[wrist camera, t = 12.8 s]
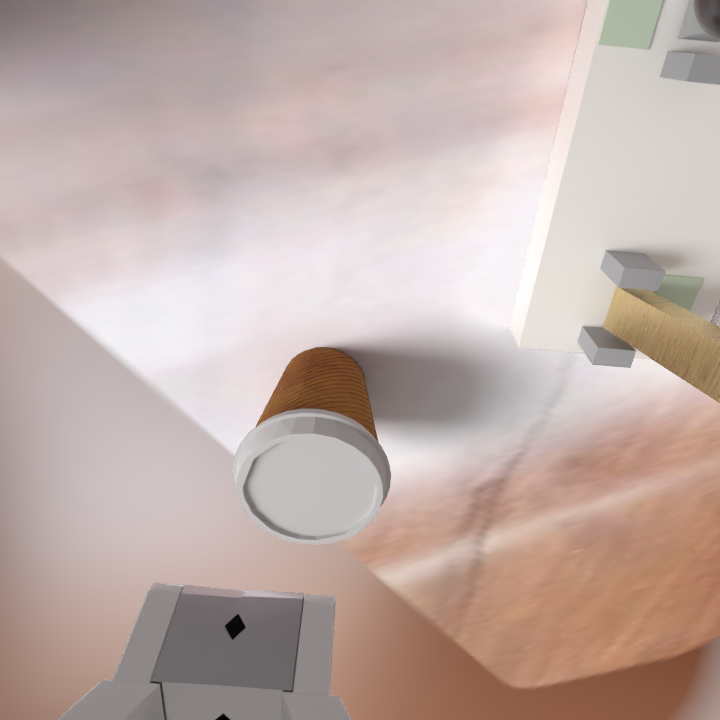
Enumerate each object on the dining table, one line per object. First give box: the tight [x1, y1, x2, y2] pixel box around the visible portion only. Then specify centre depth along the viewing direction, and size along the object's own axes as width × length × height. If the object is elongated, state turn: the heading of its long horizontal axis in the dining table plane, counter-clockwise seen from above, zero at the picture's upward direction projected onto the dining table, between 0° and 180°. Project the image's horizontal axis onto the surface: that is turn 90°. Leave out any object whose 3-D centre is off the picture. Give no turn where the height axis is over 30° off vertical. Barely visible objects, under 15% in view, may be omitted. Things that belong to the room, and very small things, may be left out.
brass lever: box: [603, 286, 720, 403], centre depth 31 cm, size 3×3×12 cm
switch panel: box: [509, 0, 720, 368], centre depth 33 cm, size 12×24×6 cm, turn 175°
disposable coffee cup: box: [232, 348, 391, 544], centre depth 39 cm, size 10×10×12 cm
